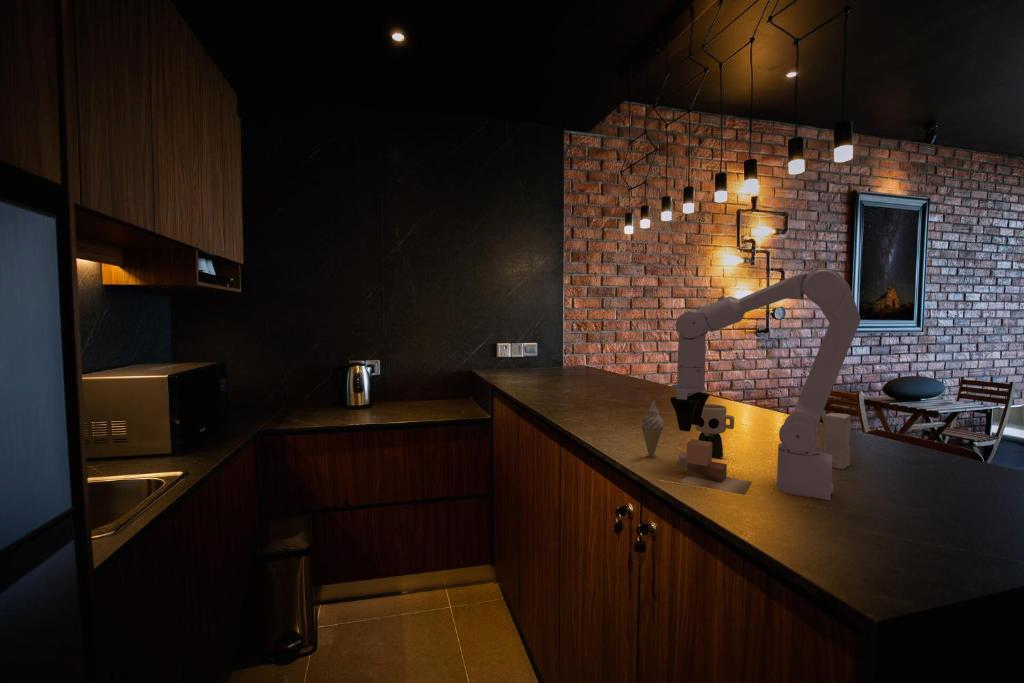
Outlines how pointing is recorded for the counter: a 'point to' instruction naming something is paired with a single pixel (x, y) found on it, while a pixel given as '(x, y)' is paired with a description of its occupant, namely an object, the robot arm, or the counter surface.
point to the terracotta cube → (699, 452)
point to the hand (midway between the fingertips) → (689, 427)
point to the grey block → (682, 459)
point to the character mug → (714, 427)
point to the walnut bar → (708, 471)
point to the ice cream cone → (652, 428)
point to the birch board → (721, 484)
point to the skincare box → (837, 439)
